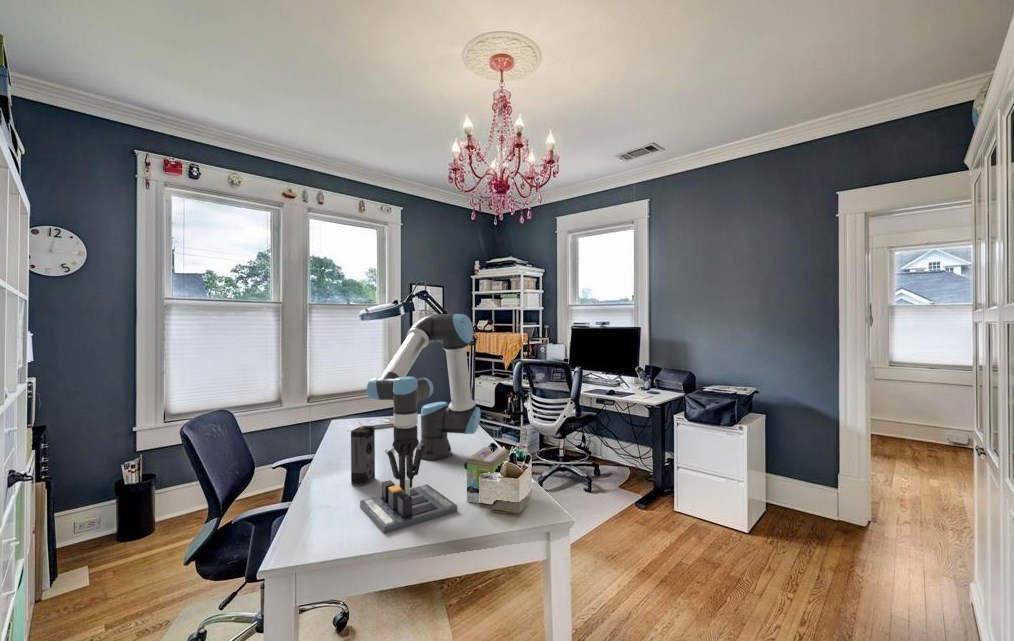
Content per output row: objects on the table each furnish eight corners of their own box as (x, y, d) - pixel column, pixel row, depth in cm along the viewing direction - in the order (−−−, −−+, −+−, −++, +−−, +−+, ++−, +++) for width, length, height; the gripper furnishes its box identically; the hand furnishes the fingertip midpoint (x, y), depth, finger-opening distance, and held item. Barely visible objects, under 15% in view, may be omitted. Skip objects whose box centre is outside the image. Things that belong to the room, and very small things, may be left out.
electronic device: (364, 486, 162) (363, 432, 162) (349, 485, 163) (348, 431, 163) (376, 477, 171) (376, 425, 171) (362, 476, 172) (362, 425, 172)
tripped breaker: (397, 502, 143) (397, 485, 143) (402, 506, 139) (402, 488, 139) (388, 504, 141) (388, 487, 141) (393, 509, 138) (392, 491, 138)
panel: (427, 489, 159) (427, 469, 159) (457, 511, 141) (457, 488, 141) (360, 506, 145) (359, 484, 145) (383, 533, 127) (383, 508, 127)
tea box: (493, 506, 145) (493, 461, 145) (465, 502, 148) (465, 458, 148) (509, 489, 159) (509, 448, 159) (483, 485, 162) (483, 445, 162)
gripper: (419, 420, 149) (419, 490, 149) (381, 426, 141) (382, 499, 141) (429, 424, 143) (429, 497, 143) (390, 431, 135) (390, 507, 135)
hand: (406, 498), depth 142 cm, fingers closed
